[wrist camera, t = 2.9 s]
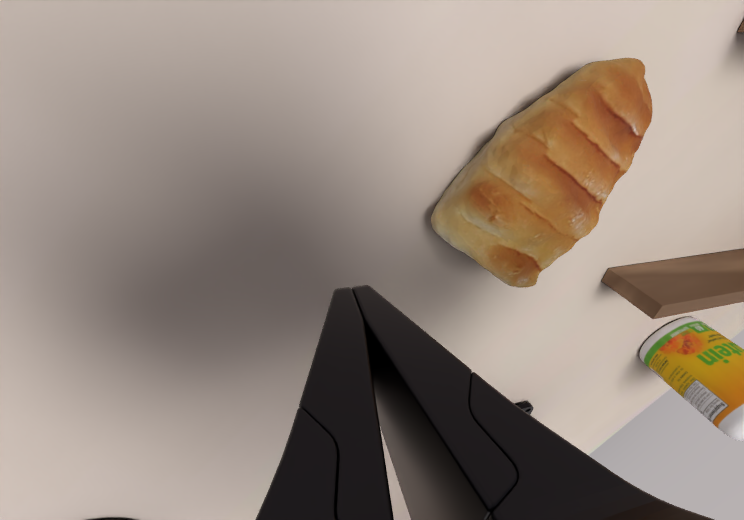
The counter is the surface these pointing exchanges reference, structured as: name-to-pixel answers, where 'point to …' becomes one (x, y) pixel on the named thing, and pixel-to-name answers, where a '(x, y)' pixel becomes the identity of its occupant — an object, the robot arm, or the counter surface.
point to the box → (681, 281)
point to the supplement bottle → (701, 370)
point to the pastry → (547, 172)
